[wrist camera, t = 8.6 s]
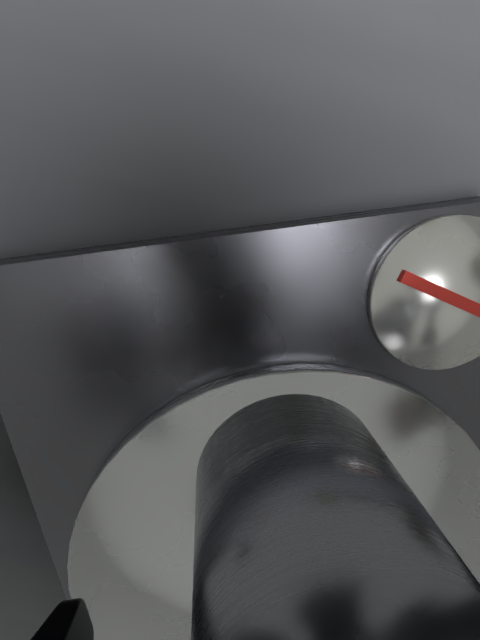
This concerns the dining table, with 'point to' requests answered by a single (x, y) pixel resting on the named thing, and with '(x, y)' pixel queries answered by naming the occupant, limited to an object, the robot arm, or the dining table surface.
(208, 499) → the steel spacer
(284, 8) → the dining table surface
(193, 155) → the dining table surface
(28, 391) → the dial scale
